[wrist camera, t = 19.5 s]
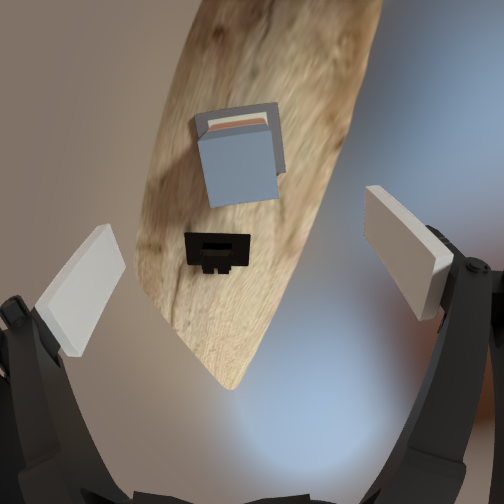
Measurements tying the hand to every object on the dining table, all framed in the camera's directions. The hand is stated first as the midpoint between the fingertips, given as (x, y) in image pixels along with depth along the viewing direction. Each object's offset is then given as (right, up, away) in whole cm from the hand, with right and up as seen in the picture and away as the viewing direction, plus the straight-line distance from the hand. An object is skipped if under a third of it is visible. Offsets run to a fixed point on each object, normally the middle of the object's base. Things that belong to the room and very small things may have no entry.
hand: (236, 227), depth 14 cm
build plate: (-4, -1, +30) cm, 30 cm away
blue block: (0, +9, +15) cm, 17 cm away
